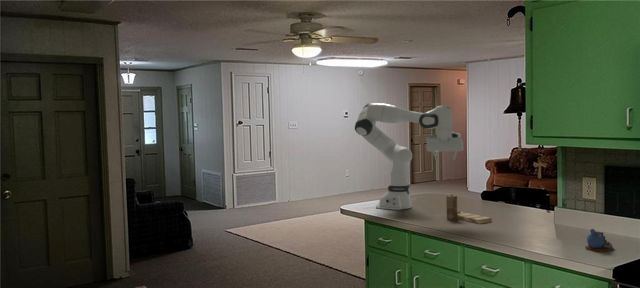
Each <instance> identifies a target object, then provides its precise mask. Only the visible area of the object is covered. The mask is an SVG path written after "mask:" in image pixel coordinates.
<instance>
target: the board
mask: <svg viewBox="0 0 640 288" xmlns="http://www.w3.org/2000/svg"><path fill="white" fill-rule="evenodd" d="M457 220H460V221H465V222H468V223H469V222H470V223H472V224H473V223H475V224H478V225H480V224H487V223H492V220H493V219H492V217H488V216H484V215H478V214H474V213H469V212H465V211H461V213H459V214H457Z"/></svg>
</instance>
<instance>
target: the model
mask: <svg viewBox="0 0 640 288" xmlns="http://www.w3.org/2000/svg"><path fill="white" fill-rule="evenodd" d="M589 232H590V234H589V235H587V238H586V242H587V245H585V250H586V251H588V252H589V251H590V252H594V253H607V252H611V251H613V250H615V248H614V246H613V244H612V243H611V242H610V241H608V240H607V239H606V236H605V235H604V232H602V231H597V230H595V229H594V228H590V230H589Z"/></svg>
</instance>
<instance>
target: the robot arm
mask: <svg viewBox="0 0 640 288" xmlns="http://www.w3.org/2000/svg"><path fill="white" fill-rule="evenodd" d="M377 122H380V123H385V124H397V123H399V124H400V123H406V122H410V123H415V124H419V126H420V127H421V128H423V129H425V130H431V129H433V130H435V129H436V130H435V131H436V132H435V133H436V134H428V135H427V136H425V142H426V147H425V148H426V149H425V150H426V152H432V155H433V156H434V160H439V156H438V155H437V154H436V153H437V152H454V155H452V156H451V159H452V160H453V161H454V160H456V156H457V154H458V152H462V151H464V149H465V148H464V141H463V139H462V134H461V133H460V132H459V133H458V132H456V131H453V112H452V109H451V107H449V106H447V105H437V106H435V108H433V109H431V110H428V111H426V112H418V111H413V110H407V109H405V108H402V107H400V106H397V105H393V104H389V103H384V102H368V103H366V104H365V106H363V108H362V110H361V111H360V113H359V115H358V118H357V120H356V122H355V124H354V130H355V132H356V133H357V134H358V135H359V136H362V137H363V139H365V141H366V142H368V144H370V145H372V146H373V147H374V148H375V149H377V150H378V151H379V152H380V153H381V154H383V156H385V157H386V158H387V159H388V160H389V161H390V162H392V167H391V168H392V169H391V171H390V184H389V185H388V186H387V190H388V191H387V192H386V193H384V194H383V195H382V196H380V198H379V201H378V202H379V204H376V205H375V208H376V209H383V210H393V211H394V210H395V211H397V210H398V211H400V210H406V209H411V208H413V205H412V202H411V197H410V193H411V191H410V190H411V187H410V184H409V183H410V182H409V181H410V179H409V174H410V173H409V172H410V166H411V161H412V159H413V152H412V150H411V149H409V148H408V147H406V146H402V145H400V144H398V143H397V142H396V141H395V140H394V139H393V138H392V137H391V136H390V135H389V134H388V133H387V132H385V131H384V130H383V129H381V128H380V127H379V126H377Z"/></svg>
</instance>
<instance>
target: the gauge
mask: <svg viewBox="0 0 640 288" xmlns="http://www.w3.org/2000/svg"><path fill="white" fill-rule="evenodd" d="M445 197H446V220H448V221H456V220H458V219H457V214H459V213H461V212H462V211H460V210H458V196H457V195H453V193H451V194H450V195H446V196H445Z"/></svg>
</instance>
